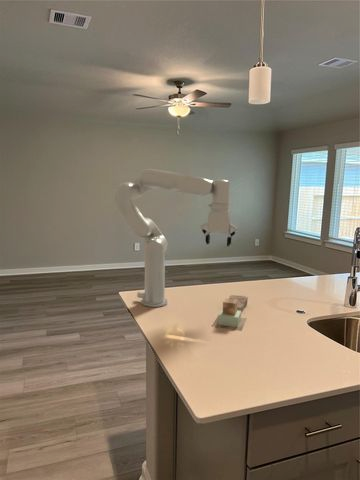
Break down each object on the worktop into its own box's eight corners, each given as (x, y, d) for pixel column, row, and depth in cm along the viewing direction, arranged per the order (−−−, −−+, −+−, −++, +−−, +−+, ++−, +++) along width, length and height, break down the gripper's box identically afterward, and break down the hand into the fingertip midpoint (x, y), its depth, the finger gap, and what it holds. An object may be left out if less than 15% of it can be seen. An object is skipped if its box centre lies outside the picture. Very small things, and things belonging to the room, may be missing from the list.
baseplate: (211, 328, 143) (211, 326, 143) (218, 316, 156) (218, 314, 156) (241, 333, 140) (241, 330, 139) (246, 320, 153) (246, 318, 153)
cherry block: (222, 314, 146) (223, 302, 145) (224, 310, 150) (225, 298, 150) (234, 315, 144) (235, 303, 143) (236, 311, 149) (237, 299, 148)
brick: (241, 316, 158) (241, 306, 157) (222, 314, 161) (222, 304, 160) (247, 305, 173) (248, 296, 173) (230, 303, 176) (230, 294, 176)
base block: (217, 324, 145) (218, 314, 145) (222, 317, 153) (222, 308, 152) (237, 327, 143) (238, 317, 142) (240, 320, 150) (241, 310, 150)
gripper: (199, 206, 163) (197, 244, 165) (237, 208, 157) (235, 247, 159) (203, 206, 170) (202, 242, 172) (240, 208, 164) (238, 245, 166)
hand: (218, 244), depth 166 cm, fingers open, 9 cm apart
